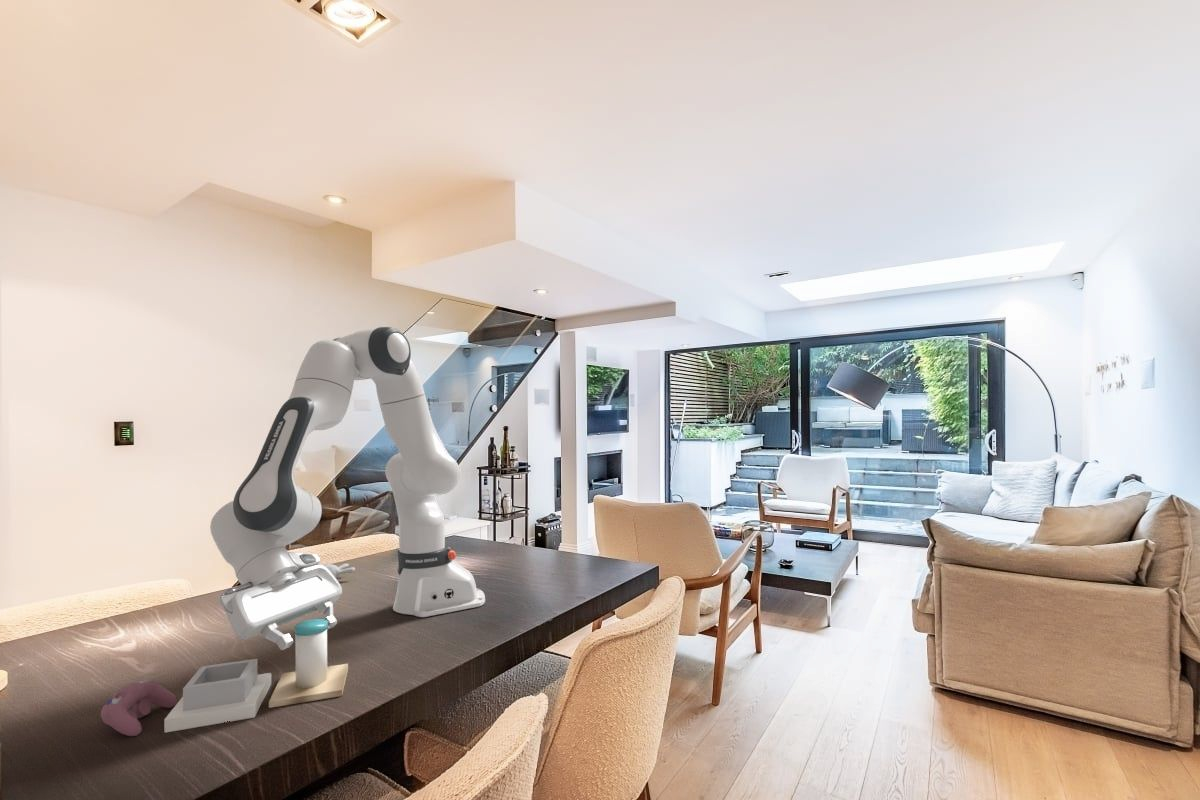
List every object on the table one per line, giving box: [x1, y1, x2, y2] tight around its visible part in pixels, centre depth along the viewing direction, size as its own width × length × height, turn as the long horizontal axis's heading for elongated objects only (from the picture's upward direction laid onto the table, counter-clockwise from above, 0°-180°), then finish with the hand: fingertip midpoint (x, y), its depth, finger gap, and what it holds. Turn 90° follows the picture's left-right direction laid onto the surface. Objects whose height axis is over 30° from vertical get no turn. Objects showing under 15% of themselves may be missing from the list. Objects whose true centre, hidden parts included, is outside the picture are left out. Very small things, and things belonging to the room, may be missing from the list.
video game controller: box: [100, 678, 177, 737], centre depth 89 cm, size 10×5×7 cm, turn 6°
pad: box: [268, 663, 349, 709], centre depth 99 cm, size 11×11×1 cm
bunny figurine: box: [322, 563, 356, 580], centre depth 163 cm, size 10×5×15 cm
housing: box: [163, 658, 272, 733], centre depth 93 cm, size 12×12×6 cm
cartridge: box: [294, 618, 328, 688], centre depth 100 cm, size 5×5×10 cm
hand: (311, 636), depth 100 cm, fingers open, 8 cm apart
